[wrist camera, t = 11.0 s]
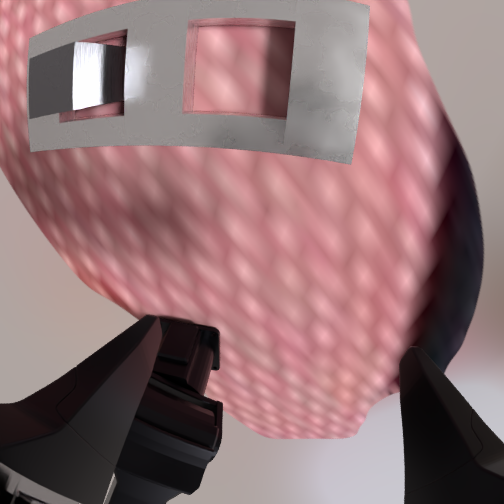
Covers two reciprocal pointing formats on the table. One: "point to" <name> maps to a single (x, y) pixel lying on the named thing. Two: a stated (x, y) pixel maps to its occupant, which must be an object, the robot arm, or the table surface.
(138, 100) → the metal plate with holes
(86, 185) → the table surface
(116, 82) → the dark grey block
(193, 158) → the table surface
